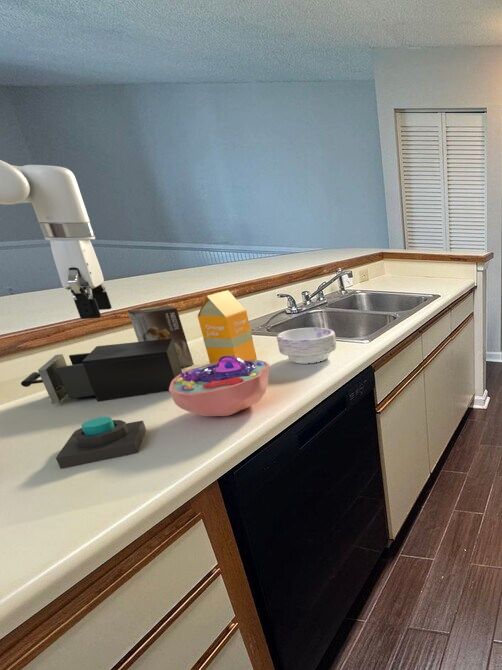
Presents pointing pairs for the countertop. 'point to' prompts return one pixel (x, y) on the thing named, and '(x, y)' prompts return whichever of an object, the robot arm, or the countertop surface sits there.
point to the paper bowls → (307, 344)
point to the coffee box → (161, 329)
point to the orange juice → (225, 327)
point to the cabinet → (132, 368)
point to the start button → (97, 425)
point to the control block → (102, 444)
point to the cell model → (221, 386)
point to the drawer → (63, 378)
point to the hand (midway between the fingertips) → (97, 313)
